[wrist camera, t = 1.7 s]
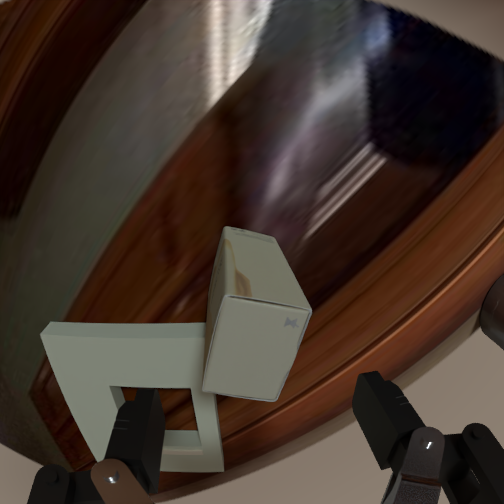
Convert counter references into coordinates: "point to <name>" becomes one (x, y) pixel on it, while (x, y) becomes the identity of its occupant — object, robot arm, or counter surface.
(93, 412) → the socket board
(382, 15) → the counter surface
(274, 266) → the skincare box
